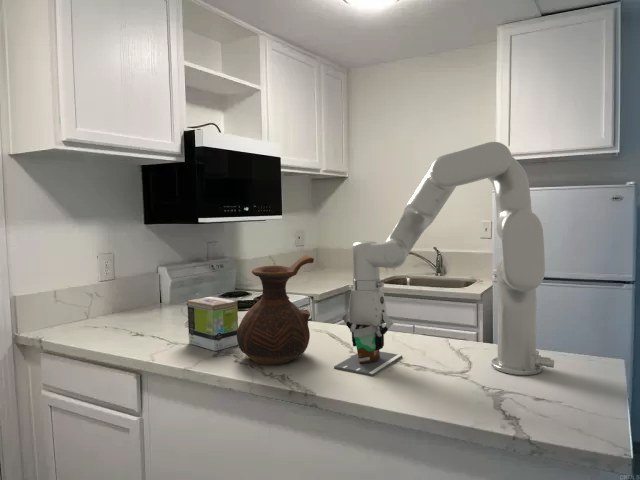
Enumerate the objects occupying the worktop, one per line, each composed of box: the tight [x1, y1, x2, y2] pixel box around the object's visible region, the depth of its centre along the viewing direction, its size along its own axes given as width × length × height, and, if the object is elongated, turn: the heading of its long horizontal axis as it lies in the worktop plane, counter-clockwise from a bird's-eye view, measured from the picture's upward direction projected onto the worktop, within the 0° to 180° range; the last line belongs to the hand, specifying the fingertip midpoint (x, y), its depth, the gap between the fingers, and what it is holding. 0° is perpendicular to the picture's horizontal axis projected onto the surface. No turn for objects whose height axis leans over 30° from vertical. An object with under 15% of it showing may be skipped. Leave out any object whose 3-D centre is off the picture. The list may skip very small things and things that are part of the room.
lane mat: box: [333, 350, 403, 377], centre depth 137 cm, size 12×18×1 cm, turn 146°
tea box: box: [187, 296, 239, 352], centre depth 159 cm, size 15×10×15 cm
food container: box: [353, 325, 381, 364], centre depth 137 cm, size 12×6×10 cm, turn 165°
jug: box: [237, 254, 315, 366], centre depth 142 cm, size 22×22×30 cm
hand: (367, 346), depth 138 cm, fingers open, 6 cm apart
